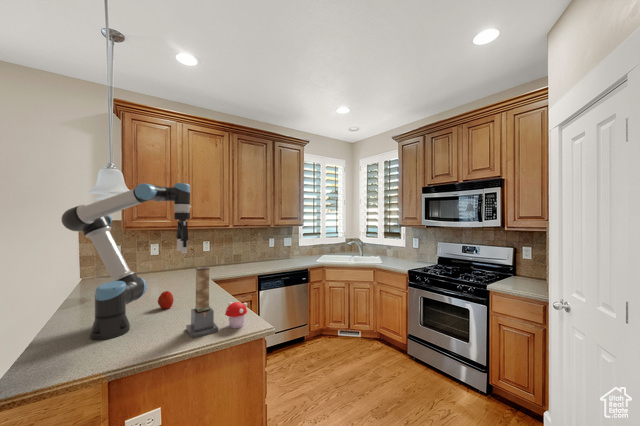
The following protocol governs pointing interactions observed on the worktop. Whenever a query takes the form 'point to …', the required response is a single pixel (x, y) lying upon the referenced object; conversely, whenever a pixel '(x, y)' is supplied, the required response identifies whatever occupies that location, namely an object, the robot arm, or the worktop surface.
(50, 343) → the worktop surface
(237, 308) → the mushroom
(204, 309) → the post
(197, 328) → the sleeve
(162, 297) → the apple
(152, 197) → the robot arm
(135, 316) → the worktop surface
